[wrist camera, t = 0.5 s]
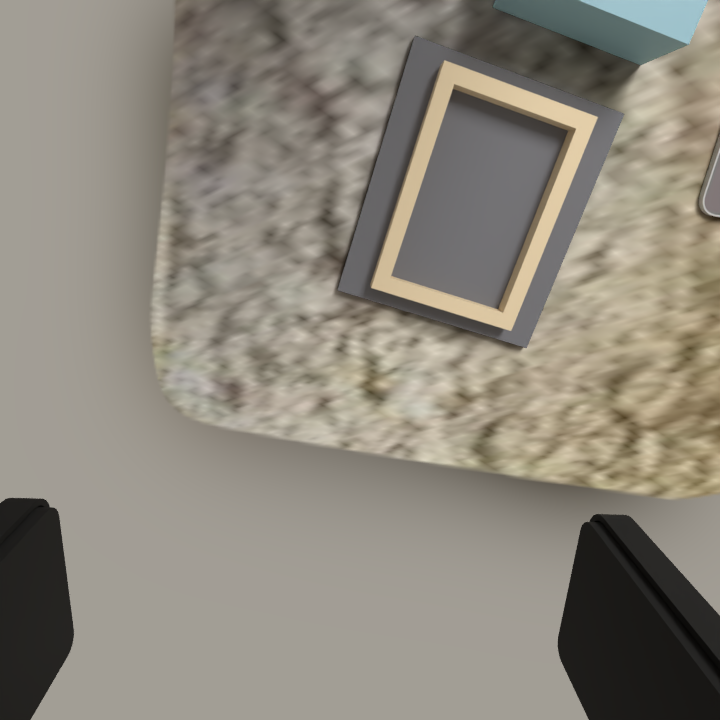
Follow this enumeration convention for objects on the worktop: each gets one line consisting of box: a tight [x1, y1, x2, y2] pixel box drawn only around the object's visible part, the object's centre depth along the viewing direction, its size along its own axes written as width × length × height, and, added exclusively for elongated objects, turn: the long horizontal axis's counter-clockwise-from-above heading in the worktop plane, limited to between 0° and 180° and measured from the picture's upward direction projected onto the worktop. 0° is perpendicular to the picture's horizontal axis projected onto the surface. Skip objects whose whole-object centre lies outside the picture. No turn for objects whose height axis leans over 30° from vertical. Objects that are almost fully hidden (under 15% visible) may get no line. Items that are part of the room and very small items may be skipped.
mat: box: [338, 36, 624, 348], centre depth 35 cm, size 16×14×2 cm
